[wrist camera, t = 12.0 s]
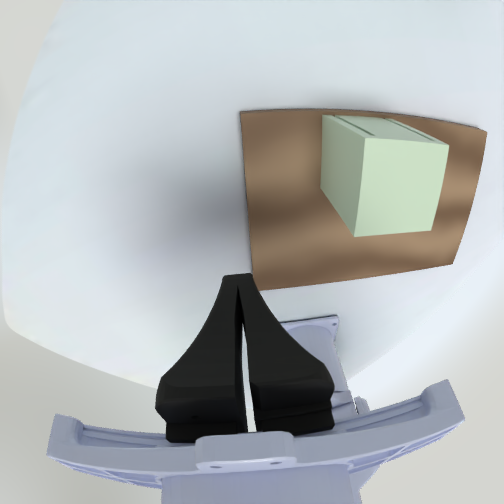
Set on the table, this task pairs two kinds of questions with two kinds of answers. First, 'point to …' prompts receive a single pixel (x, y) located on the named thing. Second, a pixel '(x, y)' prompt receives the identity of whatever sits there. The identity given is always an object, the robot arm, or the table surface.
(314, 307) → the table surface
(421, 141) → the green slotted cube
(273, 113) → the board
